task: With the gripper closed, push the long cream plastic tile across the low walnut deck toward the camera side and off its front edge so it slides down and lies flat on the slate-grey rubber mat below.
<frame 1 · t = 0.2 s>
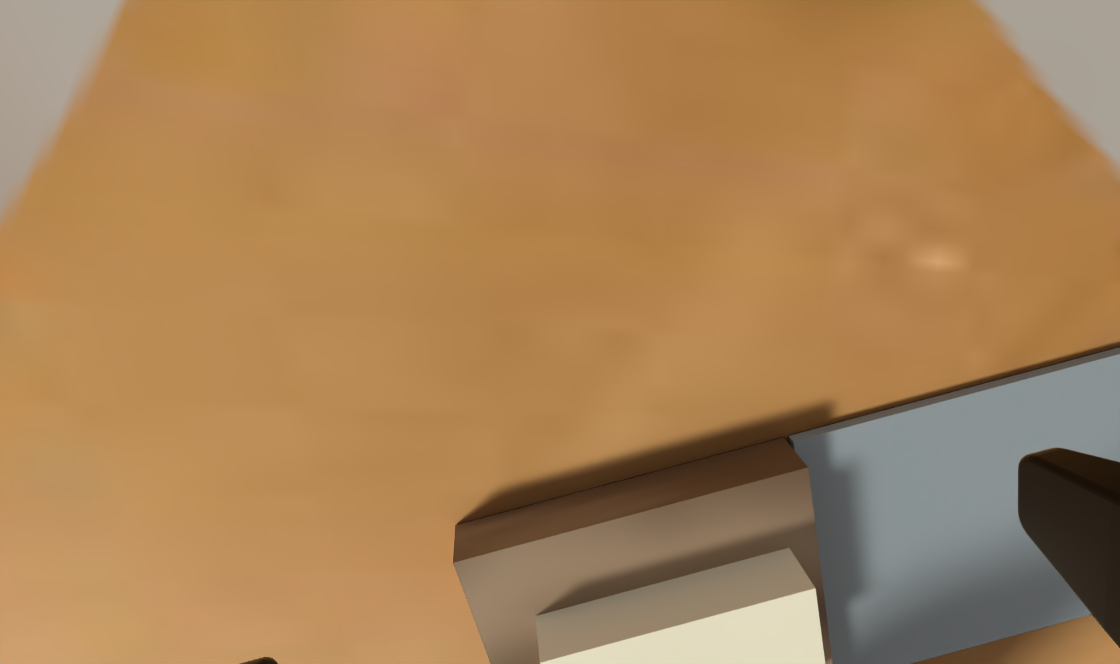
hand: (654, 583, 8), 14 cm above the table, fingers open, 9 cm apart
deck: (651, 609, 26), on the table
mat: (965, 524, 26), on the table
tile: (677, 646, 25), point 2 cm above the table, touching deck
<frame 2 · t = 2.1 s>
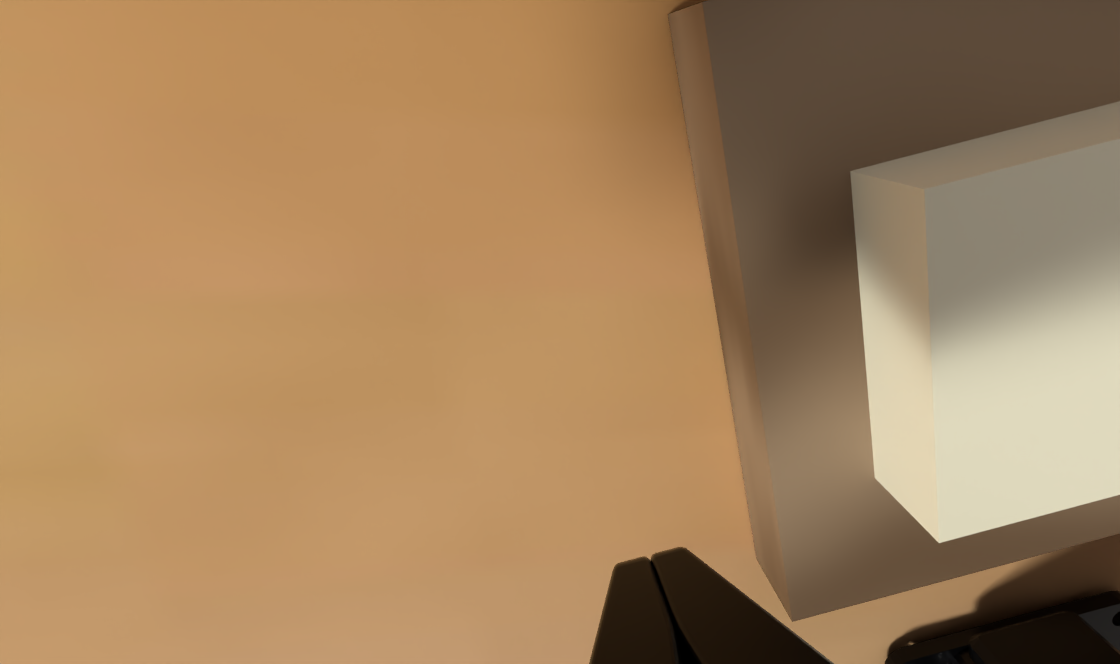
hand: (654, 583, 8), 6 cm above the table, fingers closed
deck: (999, 254, 14), on the table
tile: (1105, 274, 12), point 2 cm above the table, touching deck
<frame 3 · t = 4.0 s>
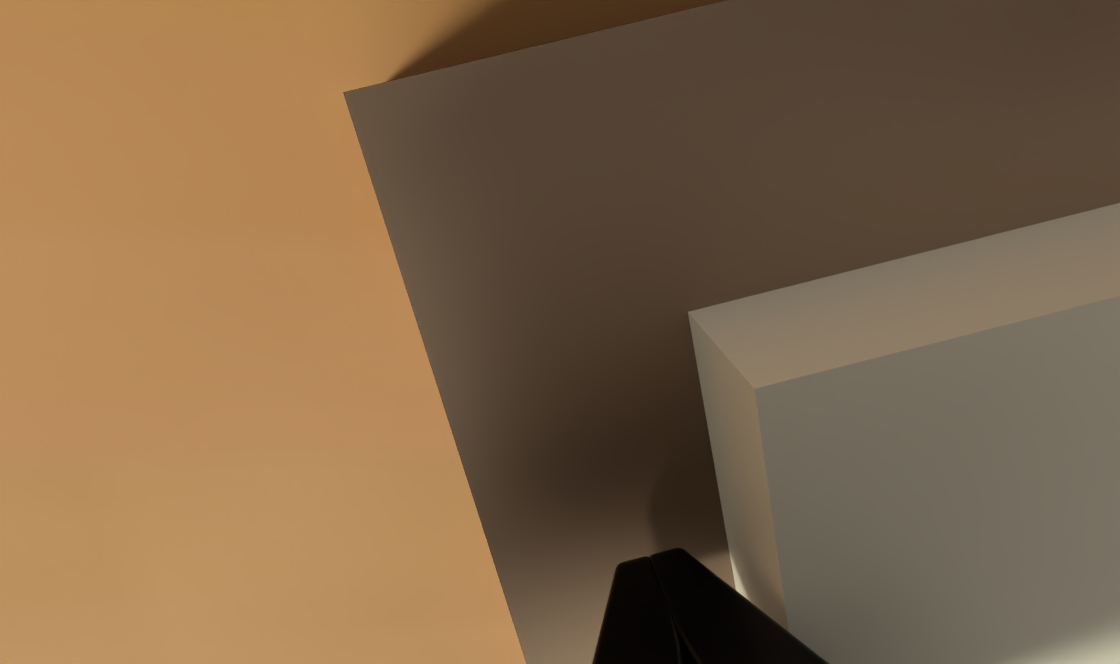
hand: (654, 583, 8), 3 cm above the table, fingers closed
deck: (883, 404, 10), on the table
tile: (1074, 444, 9), point 2 cm above the table, touching gripper
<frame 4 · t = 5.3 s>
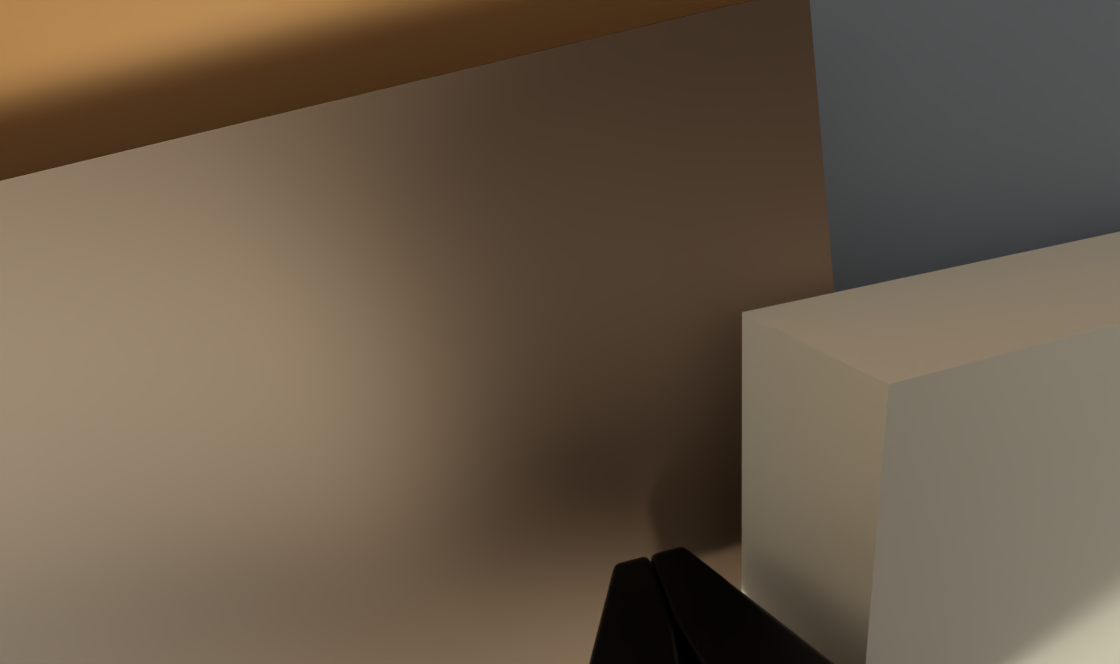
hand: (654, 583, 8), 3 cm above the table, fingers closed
deck: (405, 526, 10), on the table
tile: (1028, 458, 9), point 1 cm above the table, tilted 13°, touching mat
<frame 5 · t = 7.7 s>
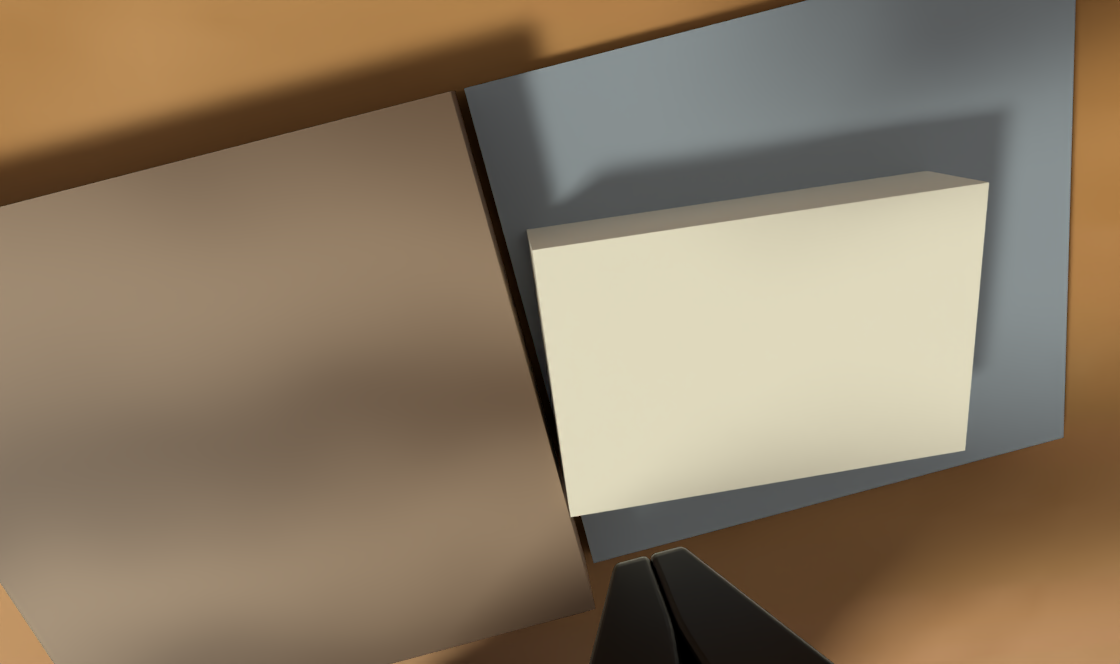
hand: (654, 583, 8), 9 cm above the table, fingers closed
deck: (280, 418, 16), on the table
mat: (797, 282, 16), on the table
tile: (735, 327, 16), resting on mat
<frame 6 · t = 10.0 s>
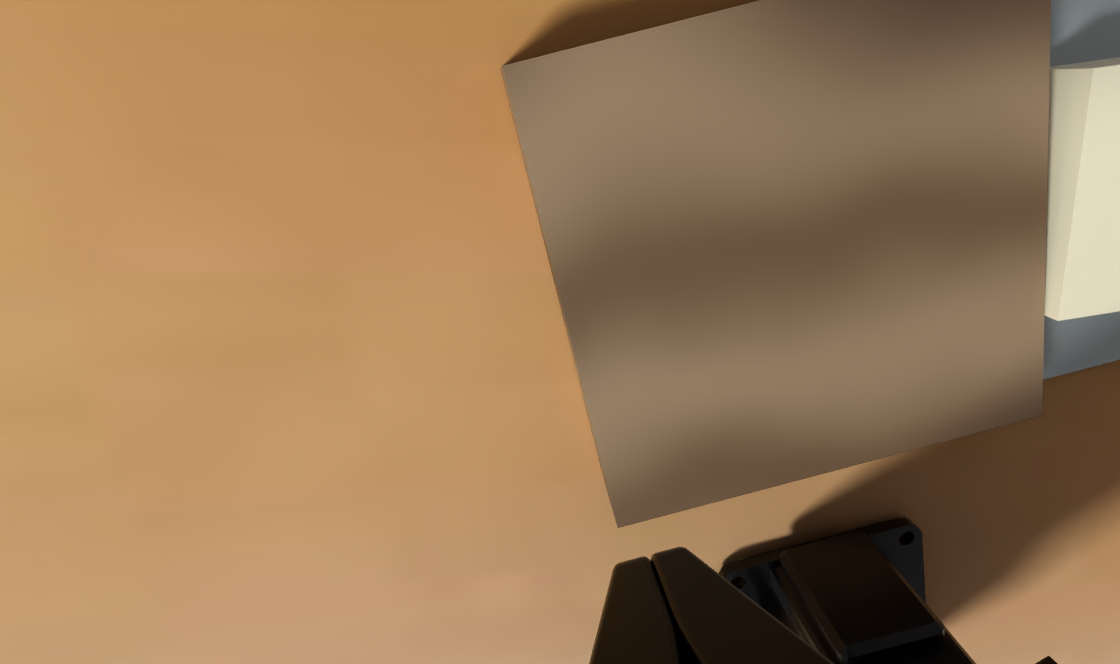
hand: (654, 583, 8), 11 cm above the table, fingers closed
deck: (775, 245, 18), on the table
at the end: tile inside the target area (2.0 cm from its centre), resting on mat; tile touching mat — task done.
